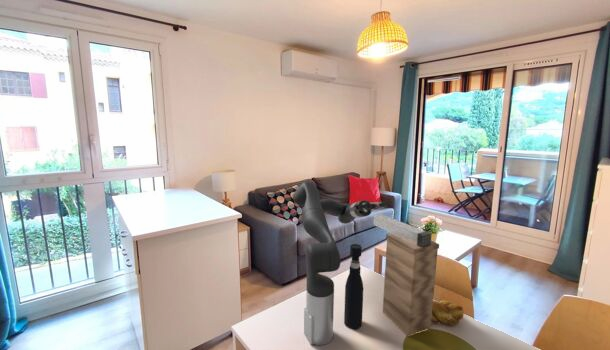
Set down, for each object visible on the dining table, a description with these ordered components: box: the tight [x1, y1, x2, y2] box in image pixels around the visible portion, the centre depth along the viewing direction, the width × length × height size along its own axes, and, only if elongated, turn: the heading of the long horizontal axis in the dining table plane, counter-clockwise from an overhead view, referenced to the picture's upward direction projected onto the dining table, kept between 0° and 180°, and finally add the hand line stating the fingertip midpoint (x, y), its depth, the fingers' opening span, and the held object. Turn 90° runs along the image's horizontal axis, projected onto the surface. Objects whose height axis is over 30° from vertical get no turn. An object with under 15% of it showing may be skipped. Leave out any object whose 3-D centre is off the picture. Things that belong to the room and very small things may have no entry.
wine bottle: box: [343, 243, 364, 330], centre depth 102 cm, size 6×6×30 cm
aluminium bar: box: [373, 213, 433, 247], centre depth 105 cm, size 4×24×4 cm, turn 27°
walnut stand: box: [382, 233, 440, 337], centre depth 103 cm, size 11×14×32 cm
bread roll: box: [431, 299, 464, 327], centre depth 106 cm, size 13×10×8 cm
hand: (378, 204), depth 121 cm, fingers open, 8 cm apart
